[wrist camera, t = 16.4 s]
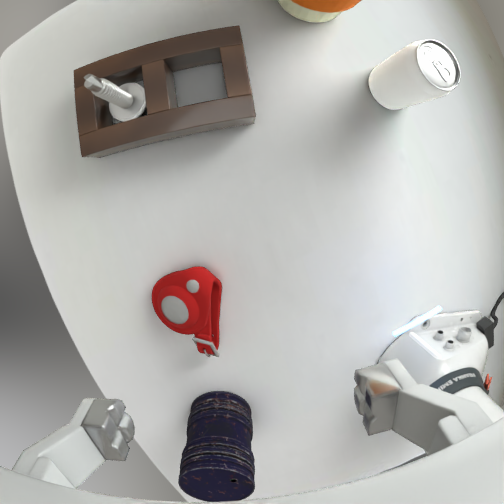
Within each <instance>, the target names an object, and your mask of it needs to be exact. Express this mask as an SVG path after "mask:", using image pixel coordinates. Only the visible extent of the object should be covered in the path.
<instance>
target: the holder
mask: <svg viewBox="0 0 504 504" xmlns="http://www.w3.org/2000/svg"><path fill="white" fill-rule="evenodd" d="M218 62H222V67H223V73H224V79H225V85H226V91H227V96H228V98H223V99H218V100H212V101H207V102H202V103H197V104H192V105H187V106H183V107H178V105H177V98H176V91H175V84H174V77H173V72H174V71H178V70H183V69H187V68H192V67H197V66H202V65H207V64H212V63H218ZM87 74H92V75H94V76H96V77H98V78H104V79H106V80H109V81H110V82H112V83H113V84H115V85H117V86H118V87H120V86H121V85H123V84H126V83H133V82H136V81H140V80H143V82H144V91H145V99H146V107H147V114H148V115H146V116H142V117H138V118H135V119H131V120H128V121H124V122H121V123H118V124H114V125H113V122H112V114H111V112H110V109H109V102H108V101H106V100H104V99H101V98H99V97H97V96H95V95H94V94H93V93H92V92H91V90H89V89H87V88H86V87H85V86H84V83H85V81H86V79H84V77H85V76H86V75H87ZM74 87H75V102H76V114H77V124H78V133H79V140H80V148H81V155H82V157H96V158H101V157H104V156H107V155H111V154H114V153H118V152H121V151H125V150H128V149H132V148H136V147H140V146H144V145H147V144H151V143H156V142H160V141H164V140H168V139H173V138H177V137H182V136H186V135H191V134H196V133H201V132H206V131H211V130H217V129H222V128H228V127H234V126H240V125H247V124H253V123H254V121H255V117H256V114H255V108H254V102H253V96H252V91H251V85H250V80H249V74H248V68H247V63H246V58H245V52H244V47H243V42H242V36H241V31H240V26H232V27H225V28H219V29H213V30H207V31H202V32H197V33H192V34H187V35H183V36H178V37H174V38H170V39H166V40H162V41H158V42H154V43H151V44H147V45H144V46H140V47H137V48H134V49H130V50H127V51H124V52H121V53H118V54H115V55H112V56H109V57H107V58H104V59H101V60H98V61H96V62H93V63H91V64H88V65H86V66H83V67H81V68H78V69H76V70H74Z"/></svg>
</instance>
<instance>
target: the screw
mask: <svg viewBox="0 0 504 504" xmlns="http://www.w3.org/2000/svg"><path fill="white" fill-rule="evenodd" d="M84 79H86V81H85V83H84V86H85V87H86V88H87V89H89V90H91V92H92V93H93V94H94V95H95V96H97V97H99V98H101V99H104V100H106V101H108V102H109V109H110V112H111V114H112V116H113V117H114V118H115V119H117V120H119V121H122V122H124V121H128V120H131V119H135V118H138V117H139V116H140V115H141V114H142V113H143V112H144V110H145V108H146V99H145V91H144V88H143V87H142V86H140V85H139V84H137V83H126V84H123V85H121V86H120V87H118V86H117V85H115V84H113V83H112V82H110V81H109V80H106V79H104V78H98V77H96V76H94V75H92V74H87V75H86V76H85V77H84Z"/></svg>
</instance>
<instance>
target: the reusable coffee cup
mask: <svg viewBox="0 0 504 504" xmlns="http://www.w3.org/2000/svg"><path fill="white" fill-rule="evenodd" d="M360 1H361V0H278V2H279V4H280V5H281V7H282V8H283V9H284V10H285V11H286V12H287V13H289V14H290V15H292V16H294V17H296V18H297V19H300V20H303V21H307V22H313V23H321V22H327V21H330V20H332V19H334V18H335V17H337V16H338V15H339V14H340V13H341V12H342V11H345V10H348V9H350V8H352V7H354V6H355V5H356V4H357V3H359V2H360Z"/></svg>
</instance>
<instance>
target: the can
mask: <svg viewBox="0 0 504 504" xmlns="http://www.w3.org/2000/svg"><path fill="white" fill-rule="evenodd" d="M459 81H460V68H459V64H458V62H457V60H456V58H455V56H454V55H453V53H452V52H451V51H450V50H449V49H448V48H447V47H446V46H445V45H444V44H442V43H441V42H439V41H436V40H432V39H427V40H419V41H415V42H413V43H411V44H409V45H407V46H406V47H404V48H403V49H401V50H400V51H398V52H396V53H395V54H393V55H392V56H390V57H389V58H387V59H386V60H384V61H383V62H382V63H380V64H379V65H377V66H376V67H375V68H374V69H373V70H372V71H371V73H370V76H369V88H370V91H371V93H372V95H373V97H374V98H375V99H376V101H377V102H378V103H380V104H381V105H382V106H384V107H386V108H388V109H391V110H399V109H403V108H407V107H410V106H413V105H417V104H420V103H424V102H427V101H430V100H434V99H437V98H441V97H443V96H446V95H448V94H449V93H450V92H451V91H452V90H453V89H455V88H456V87H457V86H458V84H459Z"/></svg>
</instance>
